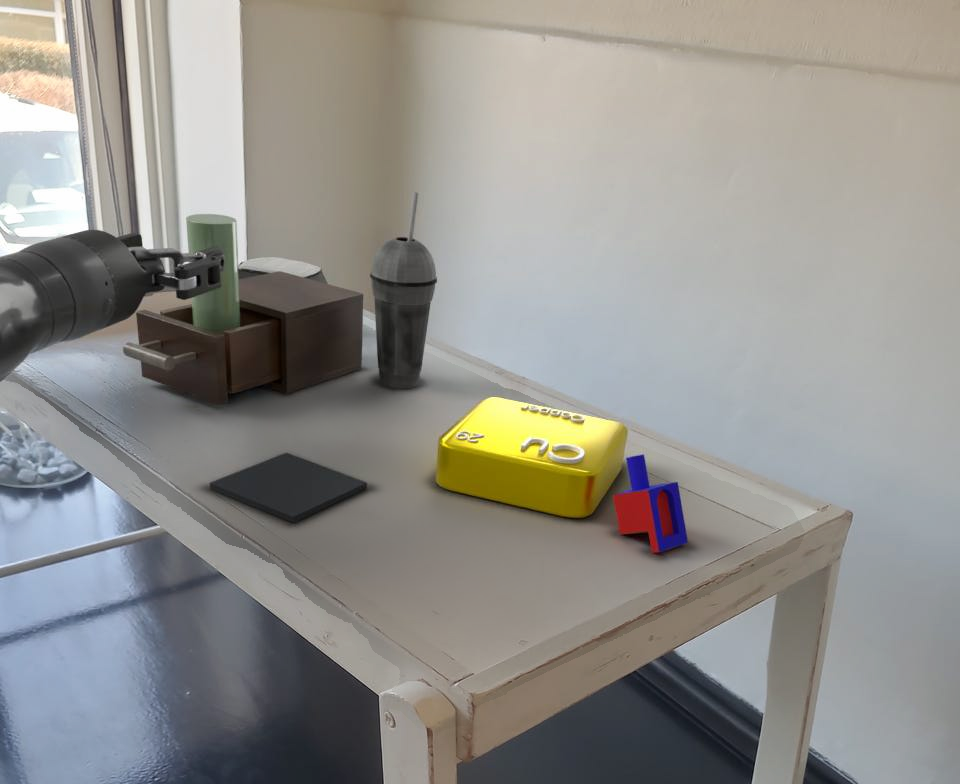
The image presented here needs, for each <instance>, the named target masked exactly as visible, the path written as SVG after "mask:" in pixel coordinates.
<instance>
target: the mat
mask: <svg viewBox="0 0 960 784" xmlns="http://www.w3.org/2000/svg"><path fill="white" fill-rule="evenodd" d="M209 489H210V490H212V491H214V492H217V493H219V494H222V495H224V496H227V497H229V498H231V499H234V500H236V501H239V502H241V503H242V504H243V503H244V504H246V505H248V506H251V507H253V508H256V509H258V510H261V511H263V512H265V513H268V514H269V515H273V516H275V517H277V518H279V519H282V520H284V521H287V522H290V523H292V524H294V523H296V522H298V521H300V520H303V519H305V518H307V517H309V516H311V515H313V514H316V513H318V512H320V511H322V510H324V509H326V508H328V507H330V506H332V505H334V504H337V503H339V502H341V501H343V500H345V499H347V498H349V497H352V496H354V495H356V494H358V493H360V492H362V491H364V490H366V489H368V482H366V481H363V480H360V479H359V478H356V477H353V476H351V475H348V474H345V473H343V472H340V471H338V470H334V469H331V468H329V467H326V466H323V465H321V464H318V463H316V462H312V461H311V460H307V459H305V458H303V457H299V456H297V455H294V454H291V453H289V452H284V453H282V454H280V455H277V456H274V457H272V458H269V459H267V460H264V461H261V462H259V463H256V464H254V465H252V466H249V467H246V468H244V469H241V470H238V471H236V472H233V473H231V474H229V475H226V476H223V477H221V478H218V479H216V480H212V481H211V482H209Z"/></svg>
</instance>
